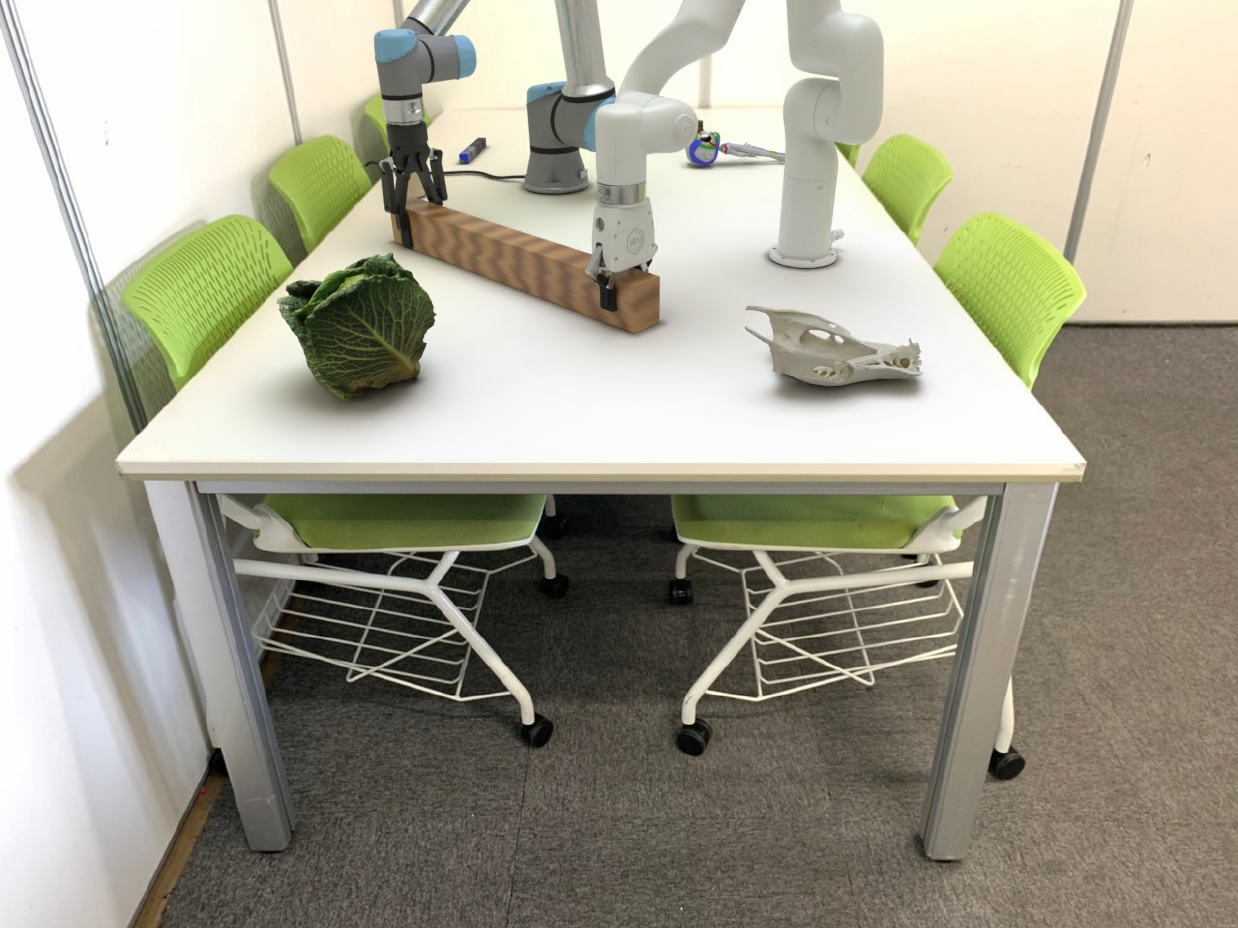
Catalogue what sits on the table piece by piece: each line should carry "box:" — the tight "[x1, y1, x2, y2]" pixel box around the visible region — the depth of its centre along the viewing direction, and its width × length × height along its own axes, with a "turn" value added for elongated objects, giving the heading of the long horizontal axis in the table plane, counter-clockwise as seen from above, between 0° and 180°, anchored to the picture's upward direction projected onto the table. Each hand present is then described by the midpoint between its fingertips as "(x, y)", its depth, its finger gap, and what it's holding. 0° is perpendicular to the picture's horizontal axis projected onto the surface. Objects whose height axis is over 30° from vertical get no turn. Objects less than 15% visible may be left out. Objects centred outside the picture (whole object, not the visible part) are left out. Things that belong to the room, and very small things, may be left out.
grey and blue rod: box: [458, 136, 487, 164], centre depth 242 cm, size 2×2×20 cm
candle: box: [403, 172, 426, 198], centre depth 207 cm, size 6×6×10 cm
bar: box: [389, 197, 661, 335], centre depth 161 cm, size 67×6×8 cm, turn 46°
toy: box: [684, 130, 785, 167], centre depth 229 cm, size 10×8×30 cm
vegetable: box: [276, 251, 438, 401], centre depth 124 cm, size 20×19×20 cm
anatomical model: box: [744, 304, 924, 387], centre depth 126 cm, size 15×9×25 cm
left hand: (421, 242), depth 180 cm, fingers closed on bar, 6 cm apart
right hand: (623, 302), depth 145 cm, fingers closed on bar, 6 cm apart
